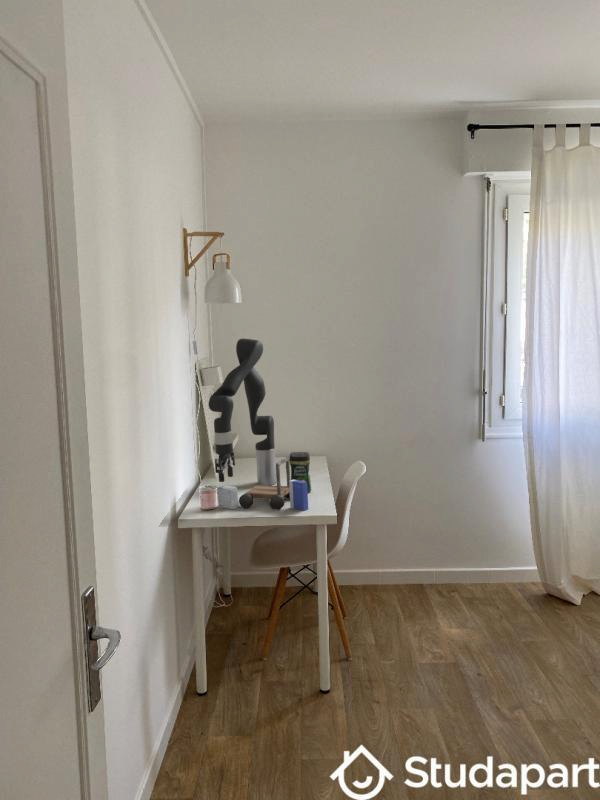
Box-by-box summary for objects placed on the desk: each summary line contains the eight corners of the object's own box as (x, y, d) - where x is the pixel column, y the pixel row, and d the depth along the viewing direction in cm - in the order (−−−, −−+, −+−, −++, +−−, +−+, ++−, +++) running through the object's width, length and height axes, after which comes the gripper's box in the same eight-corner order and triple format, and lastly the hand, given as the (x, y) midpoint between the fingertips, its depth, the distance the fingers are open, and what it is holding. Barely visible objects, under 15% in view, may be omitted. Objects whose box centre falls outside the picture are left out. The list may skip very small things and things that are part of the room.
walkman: (308, 509, 270) (307, 480, 269) (303, 510, 268) (302, 482, 267) (294, 506, 275) (293, 478, 274) (290, 507, 273) (288, 479, 272)
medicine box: (238, 506, 279) (237, 487, 278) (231, 509, 276) (230, 489, 275) (225, 504, 284) (223, 485, 283) (218, 507, 280) (216, 487, 279)
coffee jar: (289, 494, 295) (287, 454, 293) (292, 489, 303) (289, 450, 301) (310, 494, 294) (308, 453, 291) (312, 489, 301) (310, 450, 299)
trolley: (255, 496, 294) (253, 455, 291) (297, 498, 287) (295, 455, 285) (239, 508, 277) (236, 463, 275) (283, 510, 270) (280, 464, 268)
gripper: (224, 445, 268) (227, 483, 271) (238, 438, 282) (241, 475, 284) (207, 445, 271) (210, 483, 273) (223, 438, 284) (225, 474, 286)
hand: (226, 479), depth 278 cm, fingers open, 8 cm apart
